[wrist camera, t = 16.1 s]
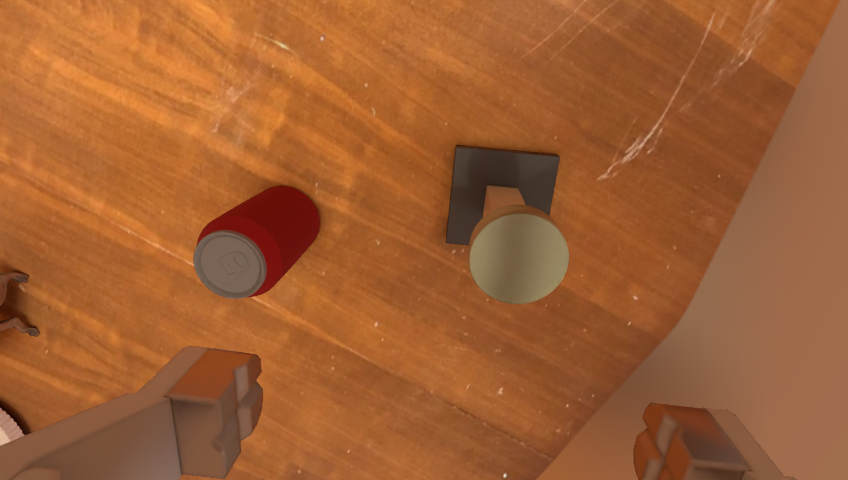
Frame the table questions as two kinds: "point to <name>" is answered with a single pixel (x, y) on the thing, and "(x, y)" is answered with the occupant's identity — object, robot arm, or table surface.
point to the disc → (517, 254)
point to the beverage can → (256, 242)
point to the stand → (496, 185)
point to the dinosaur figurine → (0, 296)
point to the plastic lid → (8, 428)
